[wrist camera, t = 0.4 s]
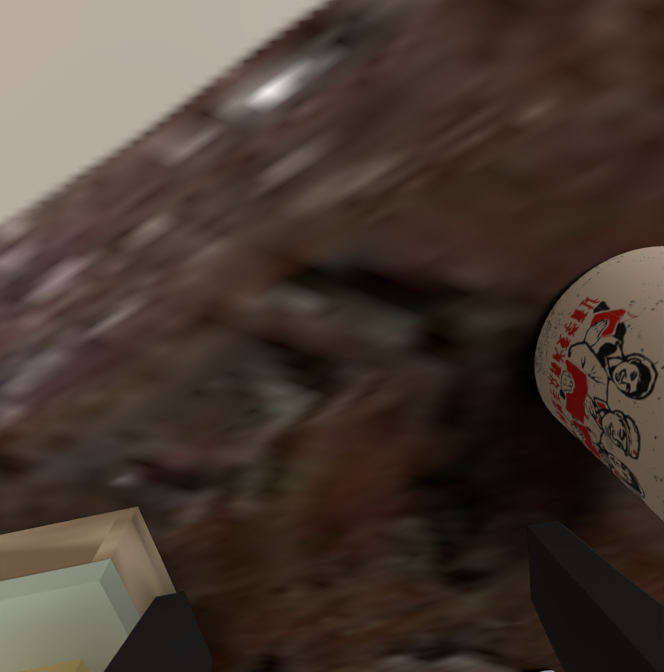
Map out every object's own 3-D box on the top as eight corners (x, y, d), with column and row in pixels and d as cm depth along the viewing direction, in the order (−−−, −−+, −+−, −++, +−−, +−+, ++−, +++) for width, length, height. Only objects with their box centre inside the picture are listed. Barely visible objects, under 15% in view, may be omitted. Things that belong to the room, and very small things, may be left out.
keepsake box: (208, 664, 24) (194, 733, 21) (68, 691, 24) (34, 764, 21) (137, 506, 20) (107, 563, 17) (-28, 540, 20) (-87, 602, 17)
